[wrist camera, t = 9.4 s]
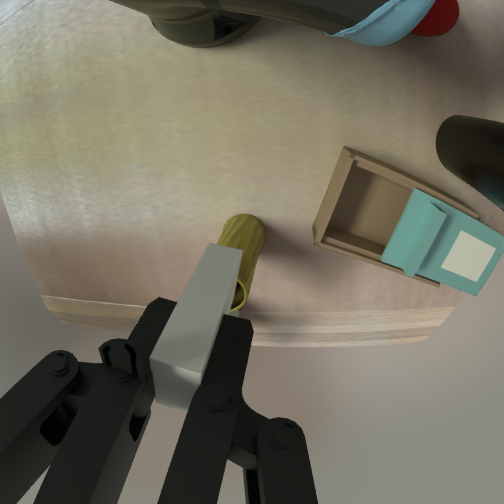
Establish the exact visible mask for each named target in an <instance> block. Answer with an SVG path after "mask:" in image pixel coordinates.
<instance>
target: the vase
mask: <svg viewBox="0 0 504 504" xmlns="http://www.w3.org/2000/svg"><path fill="white" fill-rule="evenodd" d="M265 238H266V234H265V229H264V227H263V225H262V224H261V222H260V221H259V220H258V219H256V218H255V217H253V216H251V215H247V214H239V215H236V216H233V217H232V218H230V219H229V220H228V221H227V222H226V223H225V225H224V228H223V232H222V235H221V237H220V239H219V241H218V243H217V245H221V246H226V247H230V248H234V249H238V250H243V253H242V258H241V263H240V268H239V273H238V278H237V284H236V289H235V294H234V299H233V302H232V305H231V308H230V311H229V312H233V311H236V310H238V309H239V308H241V307H242V306H243V305H244V303H245V302H246V300H247V298H248V295H249V291H250V287H251V283H252V279H253V275H254V270H255V266H256V263H257V259H258V256H259V253H260V251H261V248H262V246H263V244H264V241H265Z"/></svg>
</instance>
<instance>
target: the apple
mask: <svg viewBox="0 0 504 504" xmlns="http://www.w3.org/2000/svg"><path fill="white" fill-rule="evenodd" d="M458 17H459V5H458V2H457V0H435V2H434V4H433V5H432V7H431V8H430V10H429V11H428V12H427V14H426V15H425V16H424V18H423V19H422V20H421V21H420V22H419V23H418V24H417V26H416V27H415V28H414V29H413V30H412V31H410V33H413V34H416V35H420V36H427V37H431V36H438V35H443V34H445V33H447V32H448V31H450V30H451V29H452V28H453V26H454V25H455V23H456V22H457V20H458Z"/></svg>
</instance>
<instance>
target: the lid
mask: <svg viewBox="0 0 504 504" xmlns="http://www.w3.org/2000/svg"><path fill="white" fill-rule="evenodd" d="M503 252H504V236H503V235H502V234H500V233H498V232H497V231H495V230H494V229H492V228H490V227H489V226H487V225H485V224H483V223H482V222H480V221H478V220H477V219H475V218H473V217H471V216H469V215H468V214H466V213H464V212H462V211H460V210H459V209H457V208H455V207H453V206H451V205H449V204H447V203H445V202H443V201H441V200H439V199H437V198H436V197H434V196H432V195H429V194H427V193H425V192H423V191H421V190H419V189H417V188H415V187H414V189H413V192H412V194H411V196H410V198H409V201H408V203H407V205H406V207H405V209H404V211H403V214H402V216H401V218H400V220H399V222H398V224H397V226H396V228H395V230H394V232H393V234H392V236H391V238H390V240H389V242H388V244H387V246H386V248H385V250H384V252H383V254H382V256H381V258H380V259H381V261H382V262H385V263H388V264H391V265H394V266H396V267H399V268H402V269H403V271H404V273H405V275H408V276H410V277H414V275H415V273H416V274H419V275H421V276H424V277H427V278H429V279H432V280H435V281H438V282H440V283H443V284H446V285H448V286H451V287H454V288H456V289H459V290H461V291H464V292H467V293H469V294H472V295H475V296H477V295H478V293H479V292H480V290H481V288H482V287H483V285H484V284H485V282H486V281H487V279H488V277H489V276H490V274H491V273H492V271H493V269H494V268H495V266H496V264H497V262H498V261H499V259H500V257H501V255H502V254H503Z"/></svg>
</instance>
